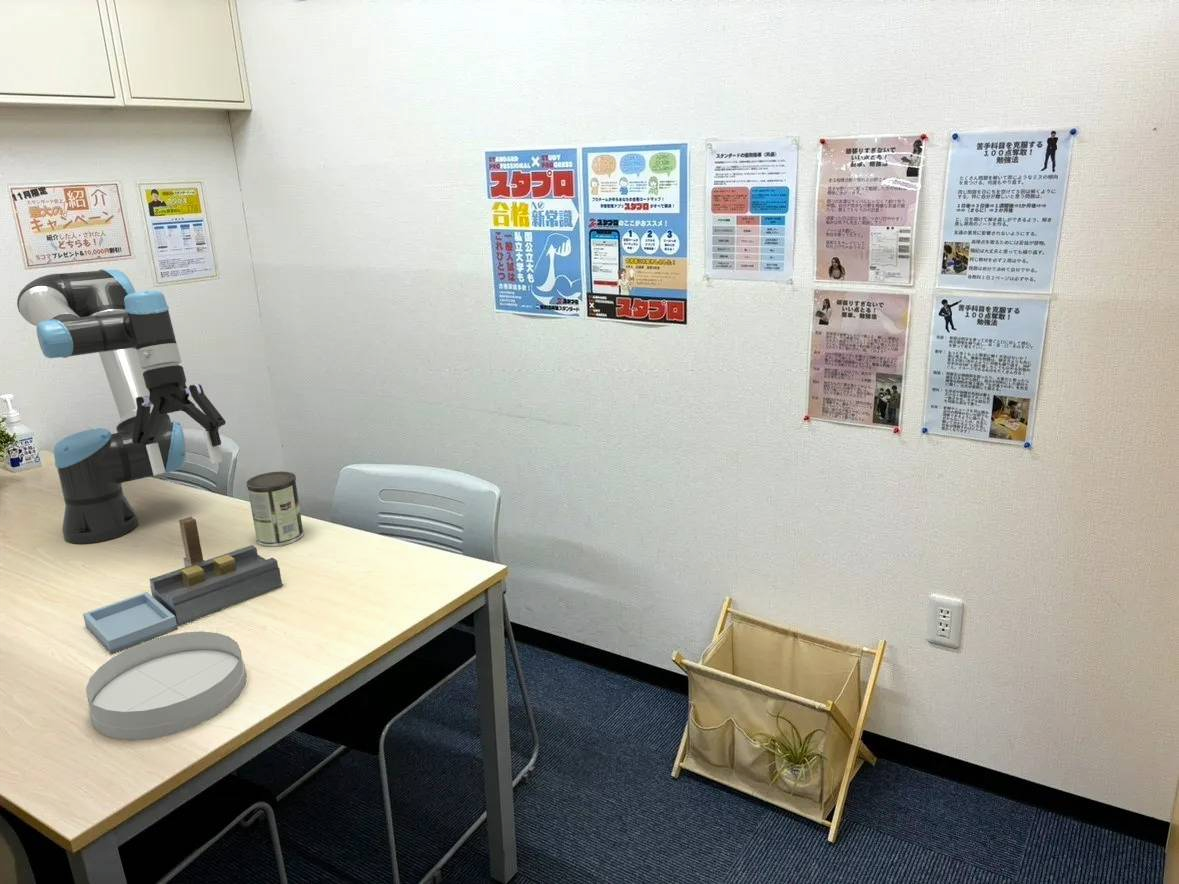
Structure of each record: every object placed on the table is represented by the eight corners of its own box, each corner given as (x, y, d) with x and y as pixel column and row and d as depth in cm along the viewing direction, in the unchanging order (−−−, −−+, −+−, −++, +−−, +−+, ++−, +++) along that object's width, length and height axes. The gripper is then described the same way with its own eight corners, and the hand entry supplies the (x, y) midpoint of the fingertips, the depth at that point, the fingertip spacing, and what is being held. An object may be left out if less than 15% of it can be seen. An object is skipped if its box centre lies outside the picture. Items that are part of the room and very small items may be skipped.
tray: (85, 625, 149) (82, 613, 149) (149, 603, 157) (146, 591, 156) (111, 654, 140) (108, 641, 139) (177, 628, 148) (175, 616, 147)
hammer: (185, 571, 170) (175, 518, 166) (198, 567, 172) (188, 514, 168) (196, 579, 166) (186, 525, 162) (209, 575, 168) (199, 521, 164)
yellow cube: (215, 573, 160) (212, 559, 159) (230, 568, 162) (228, 554, 161) (221, 578, 158) (219, 564, 157) (237, 572, 160) (234, 558, 159)
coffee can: (274, 526, 191) (265, 469, 187) (313, 530, 189) (305, 472, 184) (245, 544, 182) (235, 485, 177) (285, 549, 179) (276, 489, 175)
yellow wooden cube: (183, 584, 156) (180, 570, 155) (199, 578, 158) (197, 564, 157) (189, 589, 154) (187, 575, 153) (206, 583, 156) (203, 569, 155)
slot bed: (154, 604, 157) (148, 578, 155) (254, 568, 170) (251, 544, 169) (178, 625, 149) (172, 598, 147) (282, 586, 162) (278, 561, 161)
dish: (63, 709, 126) (55, 682, 124) (196, 643, 143) (191, 618, 142) (140, 761, 114) (133, 731, 113) (275, 682, 132) (271, 655, 130)
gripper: (96, 380, 166) (123, 482, 168) (204, 355, 161) (230, 460, 163) (123, 378, 173) (148, 475, 175) (226, 354, 168) (251, 454, 170)
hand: (188, 468), depth 169 cm, fingers open, 13 cm apart
